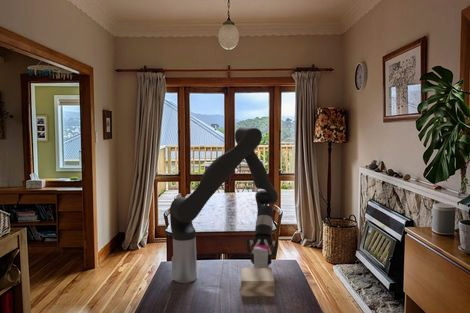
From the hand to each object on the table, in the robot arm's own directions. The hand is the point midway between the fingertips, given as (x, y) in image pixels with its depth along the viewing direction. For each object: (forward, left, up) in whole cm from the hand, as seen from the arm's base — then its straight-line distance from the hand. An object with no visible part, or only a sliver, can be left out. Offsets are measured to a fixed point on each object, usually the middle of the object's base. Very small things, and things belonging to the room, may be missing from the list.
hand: (260, 263), depth 142 cm
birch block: (0, -12, -5) cm, 13 cm away
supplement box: (0, +2, -5) cm, 5 cm away
